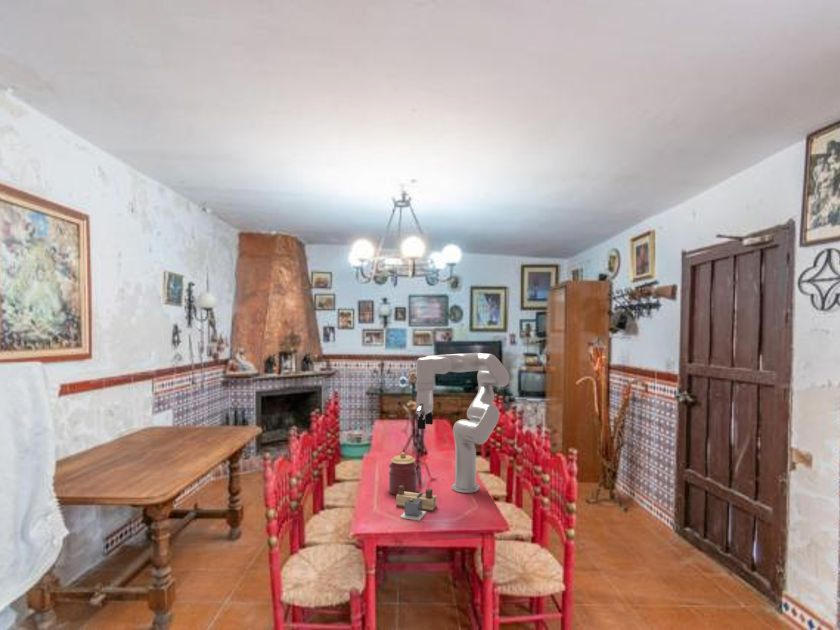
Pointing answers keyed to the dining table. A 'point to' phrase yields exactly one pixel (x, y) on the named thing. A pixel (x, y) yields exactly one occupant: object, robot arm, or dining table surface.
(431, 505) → the plane body
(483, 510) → the dining table surface
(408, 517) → the felt pad
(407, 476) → the canister
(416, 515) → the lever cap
